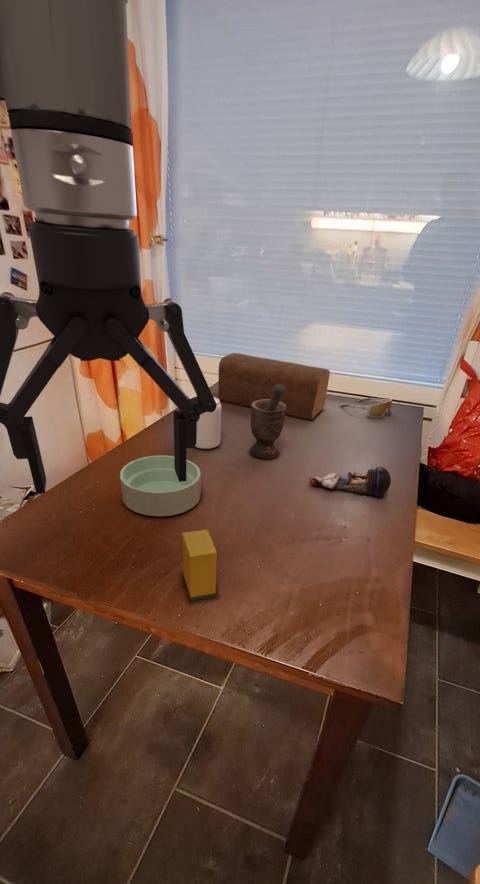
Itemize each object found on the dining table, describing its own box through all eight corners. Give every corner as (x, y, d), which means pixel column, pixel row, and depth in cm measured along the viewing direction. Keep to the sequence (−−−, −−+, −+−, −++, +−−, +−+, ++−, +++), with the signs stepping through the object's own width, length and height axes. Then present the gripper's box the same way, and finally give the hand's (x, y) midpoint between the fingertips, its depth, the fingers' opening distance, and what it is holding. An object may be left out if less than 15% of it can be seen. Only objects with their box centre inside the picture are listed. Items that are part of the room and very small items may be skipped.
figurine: (393, 471, 89) (308, 464, 94) (388, 501, 91) (306, 493, 96) (392, 464, 96) (313, 459, 101) (388, 493, 98) (311, 486, 103)
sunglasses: (374, 421, 135) (376, 405, 132) (336, 413, 144) (337, 398, 142) (398, 412, 143) (400, 397, 140) (360, 405, 152) (361, 391, 150)
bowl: (112, 514, 83) (108, 488, 80) (135, 476, 96) (133, 452, 93) (193, 522, 83) (193, 496, 79) (205, 482, 96) (205, 458, 93)
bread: (312, 422, 131) (320, 375, 123) (216, 400, 142) (217, 356, 134) (324, 409, 142) (332, 365, 133) (234, 390, 152) (236, 348, 144)
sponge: (190, 601, 65) (190, 556, 60) (183, 576, 70) (182, 532, 65) (215, 596, 66) (217, 552, 61) (206, 572, 71) (207, 529, 66)
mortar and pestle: (294, 461, 108) (305, 382, 96) (267, 468, 103) (275, 387, 92) (267, 444, 115) (275, 369, 103) (241, 450, 111) (246, 373, 99)
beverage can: (204, 453, 108) (204, 407, 101) (183, 443, 113) (182, 399, 106) (226, 444, 113) (228, 401, 106) (205, 435, 118) (206, 392, 111)
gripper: (-149, 203, 24) (-33, 514, 36) (264, 238, 31) (241, 488, 43) (-106, 203, 29) (-18, 472, 42) (235, 233, 36) (222, 455, 49)
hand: (114, 480), depth 43 cm, fingers open, 13 cm apart
